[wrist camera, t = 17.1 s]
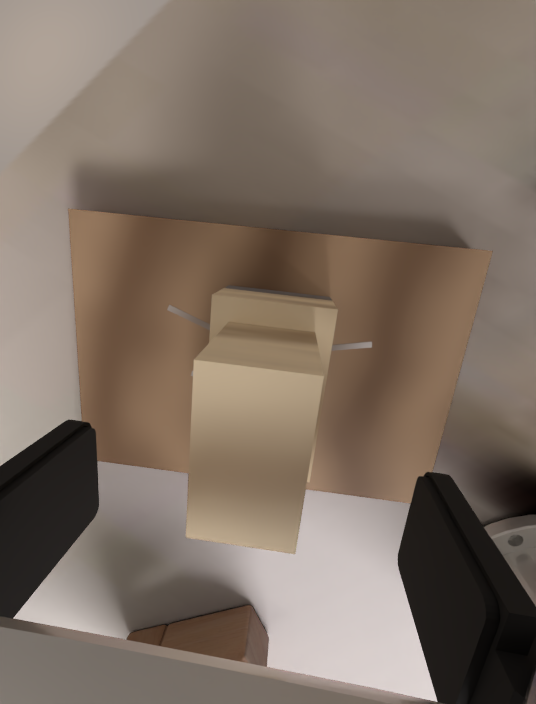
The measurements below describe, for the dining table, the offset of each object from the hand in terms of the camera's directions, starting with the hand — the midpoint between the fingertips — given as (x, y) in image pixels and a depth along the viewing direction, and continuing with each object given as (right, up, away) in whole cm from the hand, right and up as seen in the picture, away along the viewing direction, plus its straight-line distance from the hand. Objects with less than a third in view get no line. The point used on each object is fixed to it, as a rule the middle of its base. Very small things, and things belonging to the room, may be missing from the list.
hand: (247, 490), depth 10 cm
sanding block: (+1, +3, +8) cm, 9 cm away
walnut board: (0, +4, +10) cm, 11 cm away
